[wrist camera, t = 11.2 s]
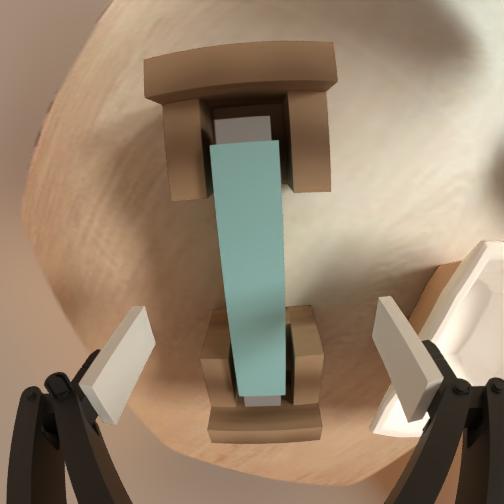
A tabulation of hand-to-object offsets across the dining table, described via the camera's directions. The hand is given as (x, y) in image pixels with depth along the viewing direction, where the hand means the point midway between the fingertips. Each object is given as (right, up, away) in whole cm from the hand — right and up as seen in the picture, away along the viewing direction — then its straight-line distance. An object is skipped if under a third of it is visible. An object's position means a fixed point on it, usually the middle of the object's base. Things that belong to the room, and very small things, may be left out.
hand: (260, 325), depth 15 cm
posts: (0, +4, +12) cm, 13 cm away
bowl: (+25, -4, +15) cm, 29 cm away
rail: (0, +3, +10) cm, 10 cm away
